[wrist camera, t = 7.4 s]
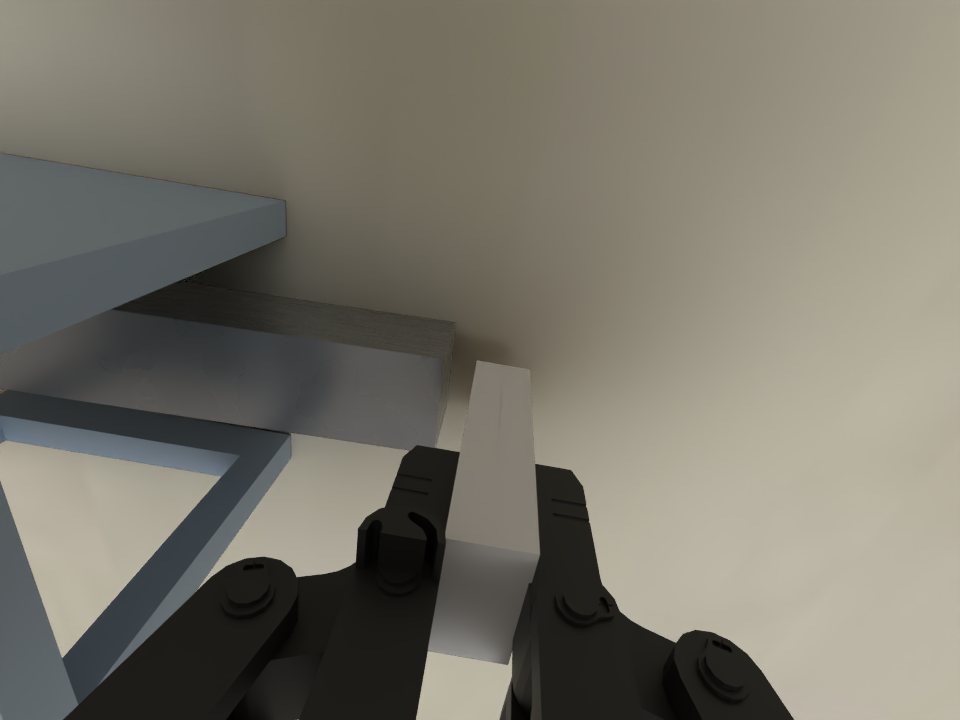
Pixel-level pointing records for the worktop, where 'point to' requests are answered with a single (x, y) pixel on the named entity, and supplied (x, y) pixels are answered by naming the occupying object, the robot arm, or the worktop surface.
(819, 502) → the worktop surface
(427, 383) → the rod
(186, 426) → the tunnel
